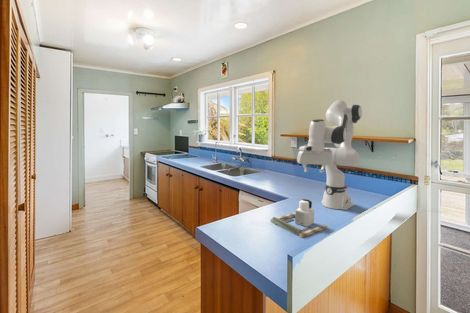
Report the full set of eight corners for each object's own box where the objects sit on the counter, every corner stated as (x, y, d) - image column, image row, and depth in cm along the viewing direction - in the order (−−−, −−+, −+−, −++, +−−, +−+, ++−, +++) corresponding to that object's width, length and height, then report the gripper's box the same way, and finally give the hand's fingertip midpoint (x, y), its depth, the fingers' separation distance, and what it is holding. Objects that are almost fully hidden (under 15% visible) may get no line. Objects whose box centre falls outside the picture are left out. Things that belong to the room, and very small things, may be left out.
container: (300, 219, 140) (301, 197, 138) (313, 222, 135) (315, 200, 133) (294, 223, 134) (295, 200, 132) (308, 227, 129) (309, 203, 127)
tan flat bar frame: (295, 214, 146) (295, 210, 146) (327, 228, 128) (327, 222, 128) (270, 221, 135) (270, 216, 135) (301, 237, 117) (301, 231, 117)
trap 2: (309, 227, 129) (310, 226, 129) (314, 229, 126) (314, 228, 126) (297, 231, 123) (297, 231, 123) (301, 234, 121) (301, 233, 121)
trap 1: (290, 218, 140) (290, 218, 140) (294, 220, 138) (294, 219, 138) (277, 222, 135) (277, 221, 135) (281, 224, 132) (281, 223, 132)
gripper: (329, 148, 143) (327, 171, 144) (296, 146, 139) (294, 170, 140) (335, 149, 137) (333, 173, 138) (301, 147, 133) (299, 172, 134)
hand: (313, 172), depth 139 cm, fingers open, 8 cm apart
